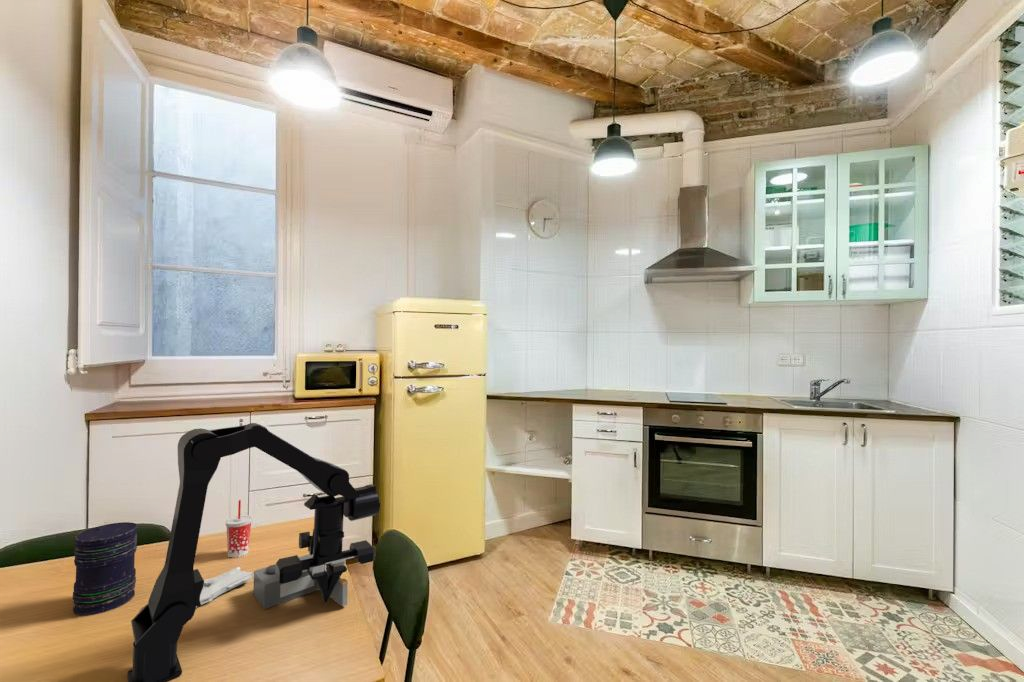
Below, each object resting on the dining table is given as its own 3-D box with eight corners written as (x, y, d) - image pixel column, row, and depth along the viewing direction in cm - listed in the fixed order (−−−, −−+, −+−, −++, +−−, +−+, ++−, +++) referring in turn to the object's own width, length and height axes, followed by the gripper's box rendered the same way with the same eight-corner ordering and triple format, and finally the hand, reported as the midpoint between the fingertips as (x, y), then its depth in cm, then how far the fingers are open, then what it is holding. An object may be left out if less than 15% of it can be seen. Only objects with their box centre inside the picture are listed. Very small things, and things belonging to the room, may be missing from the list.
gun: (231, 558, 106) (255, 569, 101) (231, 572, 106) (256, 583, 102) (139, 599, 90) (163, 614, 86) (139, 615, 90) (163, 631, 86)
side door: (323, 585, 100) (323, 564, 100) (347, 604, 92) (347, 580, 93) (318, 588, 99) (318, 565, 99) (342, 606, 92) (342, 583, 92)
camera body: (323, 588, 100) (323, 563, 100) (264, 609, 91) (265, 582, 91) (309, 574, 105) (310, 551, 105) (253, 593, 97) (254, 568, 97)
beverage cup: (256, 552, 117) (257, 499, 117) (231, 561, 112) (233, 506, 112) (244, 546, 120) (245, 495, 120) (219, 555, 115) (221, 501, 115)
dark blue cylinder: (146, 593, 97) (149, 525, 97) (94, 619, 87) (96, 543, 88) (114, 586, 99) (116, 519, 100) (59, 611, 90) (62, 537, 90)
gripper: (361, 507, 105) (358, 575, 104) (273, 522, 94) (269, 598, 93) (377, 521, 96) (374, 595, 95) (281, 540, 85) (277, 624, 84)
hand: (325, 602), depth 92 cm, fingers closed
